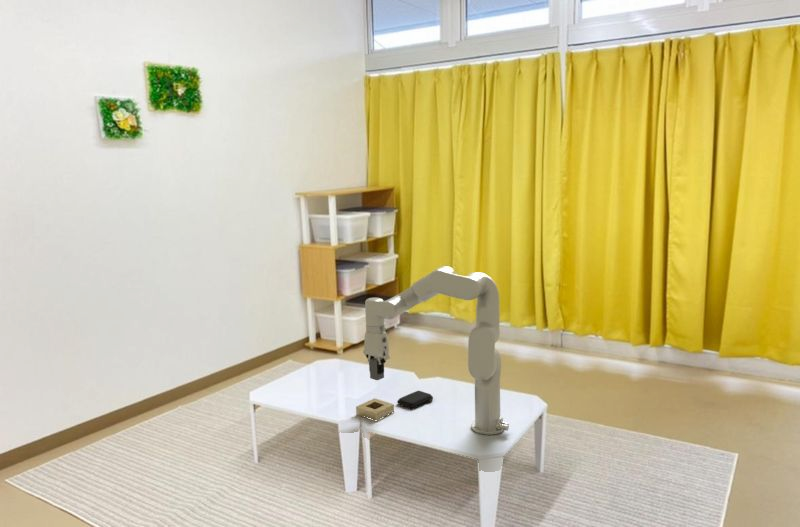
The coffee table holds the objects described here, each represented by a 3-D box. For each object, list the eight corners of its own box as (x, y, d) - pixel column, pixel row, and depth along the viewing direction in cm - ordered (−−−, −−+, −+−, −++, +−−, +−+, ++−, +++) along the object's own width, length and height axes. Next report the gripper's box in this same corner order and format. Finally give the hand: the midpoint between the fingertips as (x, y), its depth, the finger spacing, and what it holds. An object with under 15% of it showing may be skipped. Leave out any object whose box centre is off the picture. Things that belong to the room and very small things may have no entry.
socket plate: (394, 412, 229) (393, 404, 229) (375, 421, 221) (375, 413, 220) (374, 406, 236) (374, 398, 236) (356, 414, 228) (356, 406, 227)
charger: (384, 377, 227) (383, 358, 226) (377, 380, 224) (376, 360, 223) (376, 375, 229) (376, 356, 228) (370, 378, 226) (369, 358, 225)
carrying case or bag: (413, 412, 230) (436, 401, 240) (413, 405, 229) (436, 394, 240) (395, 405, 237) (418, 395, 247) (395, 398, 237) (418, 388, 247)
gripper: (397, 329, 221) (398, 373, 224) (367, 323, 232) (368, 365, 235) (384, 334, 215) (385, 379, 218) (354, 327, 226) (355, 370, 229)
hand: (376, 371), depth 226 cm, fingers closed on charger, 4 cm apart
